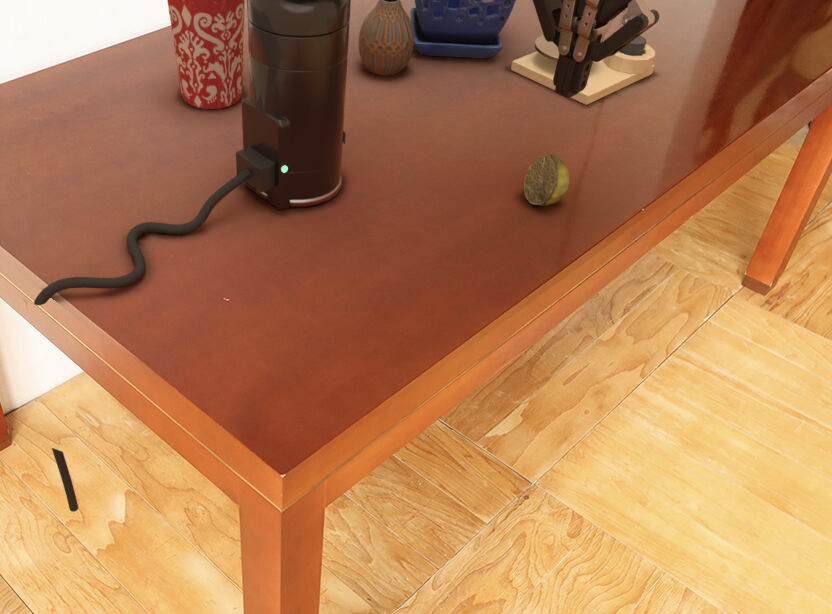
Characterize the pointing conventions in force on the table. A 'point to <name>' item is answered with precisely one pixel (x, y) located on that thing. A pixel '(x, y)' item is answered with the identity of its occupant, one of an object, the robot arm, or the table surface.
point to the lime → (546, 180)
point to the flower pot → (459, 27)
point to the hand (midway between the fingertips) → (567, 93)
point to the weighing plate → (546, 48)
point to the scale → (591, 72)
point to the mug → (209, 50)
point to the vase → (386, 38)
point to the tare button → (635, 47)
